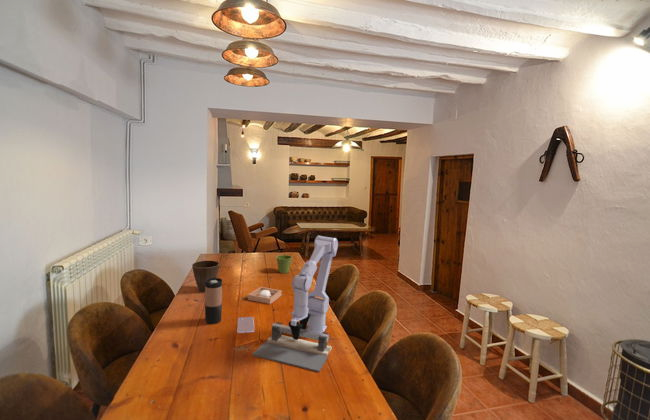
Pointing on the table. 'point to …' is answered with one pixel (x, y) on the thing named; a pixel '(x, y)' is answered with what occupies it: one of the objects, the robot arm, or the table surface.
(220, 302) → the travel mug
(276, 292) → the garlic dish
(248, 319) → the mobile phone
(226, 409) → the table surface
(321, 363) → the mat
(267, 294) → the garlic
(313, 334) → the rail
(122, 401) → the table surface
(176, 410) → the table surface
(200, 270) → the plant pot
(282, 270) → the plant pot
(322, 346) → the hook stand
